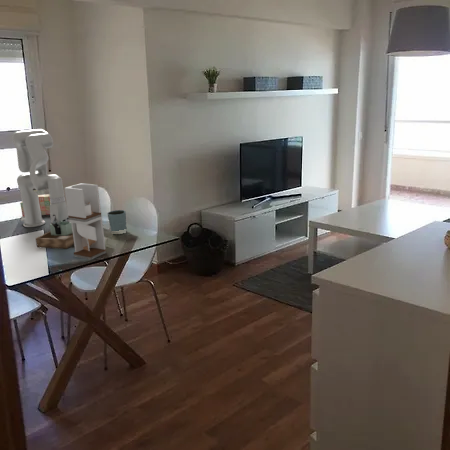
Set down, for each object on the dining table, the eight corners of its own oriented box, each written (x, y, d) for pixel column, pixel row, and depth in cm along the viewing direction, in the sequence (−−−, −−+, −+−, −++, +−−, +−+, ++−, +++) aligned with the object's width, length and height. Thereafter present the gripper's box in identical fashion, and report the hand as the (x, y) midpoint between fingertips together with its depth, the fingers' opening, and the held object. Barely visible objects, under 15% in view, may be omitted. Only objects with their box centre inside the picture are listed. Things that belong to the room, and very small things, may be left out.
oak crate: (37, 247, 272) (35, 238, 270) (60, 234, 292) (59, 226, 290) (66, 248, 267) (65, 239, 265) (88, 235, 287) (87, 227, 285)
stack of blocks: (22, 216, 334) (19, 198, 331) (24, 214, 340) (21, 196, 337) (55, 214, 337) (53, 195, 333) (57, 211, 343) (54, 193, 339)
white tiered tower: (74, 256, 255) (64, 187, 245) (89, 249, 264) (81, 183, 253) (90, 259, 249) (81, 189, 239) (106, 252, 258) (97, 184, 248)
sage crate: (51, 235, 276) (49, 224, 275) (58, 231, 282) (56, 221, 280) (67, 236, 274) (65, 225, 272) (73, 232, 279) (72, 221, 278)
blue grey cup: (123, 235, 284) (121, 214, 281) (106, 235, 286) (104, 214, 283) (130, 230, 294) (128, 209, 290) (114, 229, 296) (111, 209, 292)
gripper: (60, 196, 281) (65, 227, 287) (41, 204, 266) (46, 236, 271) (72, 196, 279) (77, 227, 284) (54, 204, 263) (59, 237, 269)
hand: (62, 231), depth 278 cm, fingers closed on sage crate, 6 cm apart
